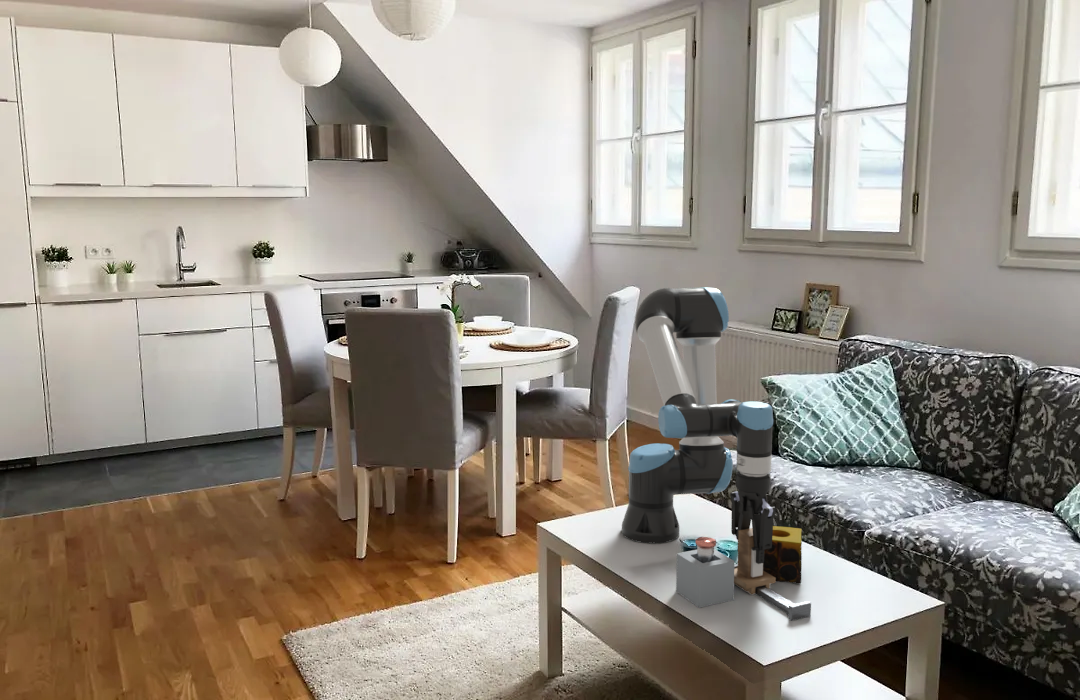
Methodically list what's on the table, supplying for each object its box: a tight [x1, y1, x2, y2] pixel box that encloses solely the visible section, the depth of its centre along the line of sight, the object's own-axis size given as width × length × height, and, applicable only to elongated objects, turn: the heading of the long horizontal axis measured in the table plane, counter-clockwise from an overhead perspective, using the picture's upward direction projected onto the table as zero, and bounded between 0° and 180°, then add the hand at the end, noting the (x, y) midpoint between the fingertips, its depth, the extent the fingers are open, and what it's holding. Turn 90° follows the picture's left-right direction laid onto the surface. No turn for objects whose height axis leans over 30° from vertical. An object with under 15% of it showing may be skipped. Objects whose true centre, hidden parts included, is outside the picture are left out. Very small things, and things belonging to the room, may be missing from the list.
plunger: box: [695, 536, 717, 563], centre depth 196 cm, size 4×4×5 cm
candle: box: [763, 525, 803, 585], centre depth 208 cm, size 10×10×10 cm
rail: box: [734, 563, 812, 621], centre depth 196 cm, size 23×5×3 cm, turn 24°
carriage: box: [734, 527, 777, 596], centre depth 201 cm, size 8×8×13 cm
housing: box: [675, 548, 736, 608], centre depth 197 cm, size 9×9×9 cm
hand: (750, 571), depth 201 cm, fingers closed on carriage, 4 cm apart
